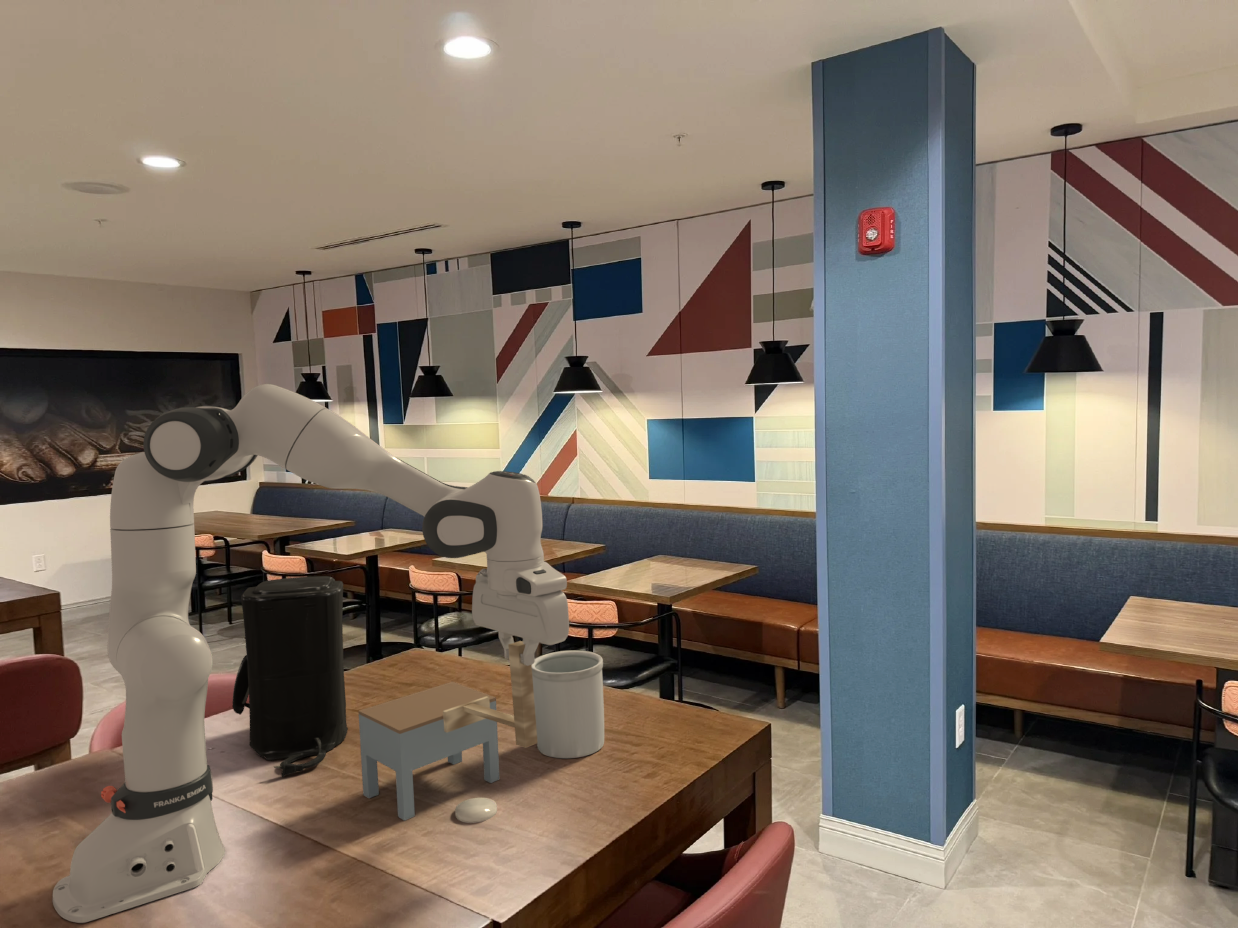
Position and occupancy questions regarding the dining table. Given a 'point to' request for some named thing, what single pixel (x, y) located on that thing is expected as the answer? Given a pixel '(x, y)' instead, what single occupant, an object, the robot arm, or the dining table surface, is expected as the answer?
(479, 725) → the wooden top stool
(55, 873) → the dining table surface
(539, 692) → the utensil holder
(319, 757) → the coffee maker
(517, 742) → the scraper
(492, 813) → the smooth oval stone
